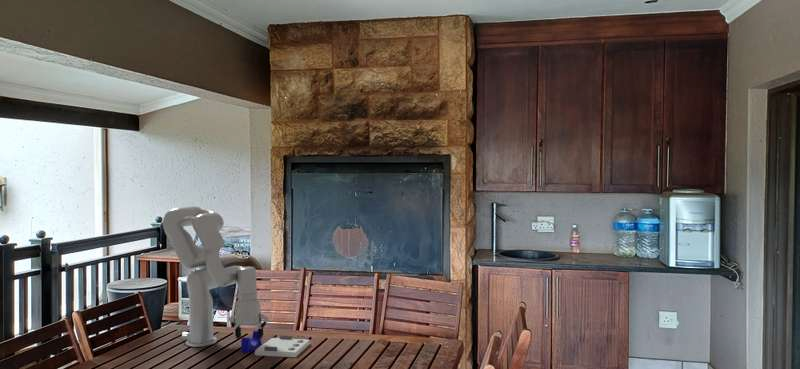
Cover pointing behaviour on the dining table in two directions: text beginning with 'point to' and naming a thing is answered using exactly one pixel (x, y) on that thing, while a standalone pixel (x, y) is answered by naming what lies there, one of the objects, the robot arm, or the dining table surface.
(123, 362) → the dining table surface
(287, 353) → the white square board
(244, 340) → the cable clip
